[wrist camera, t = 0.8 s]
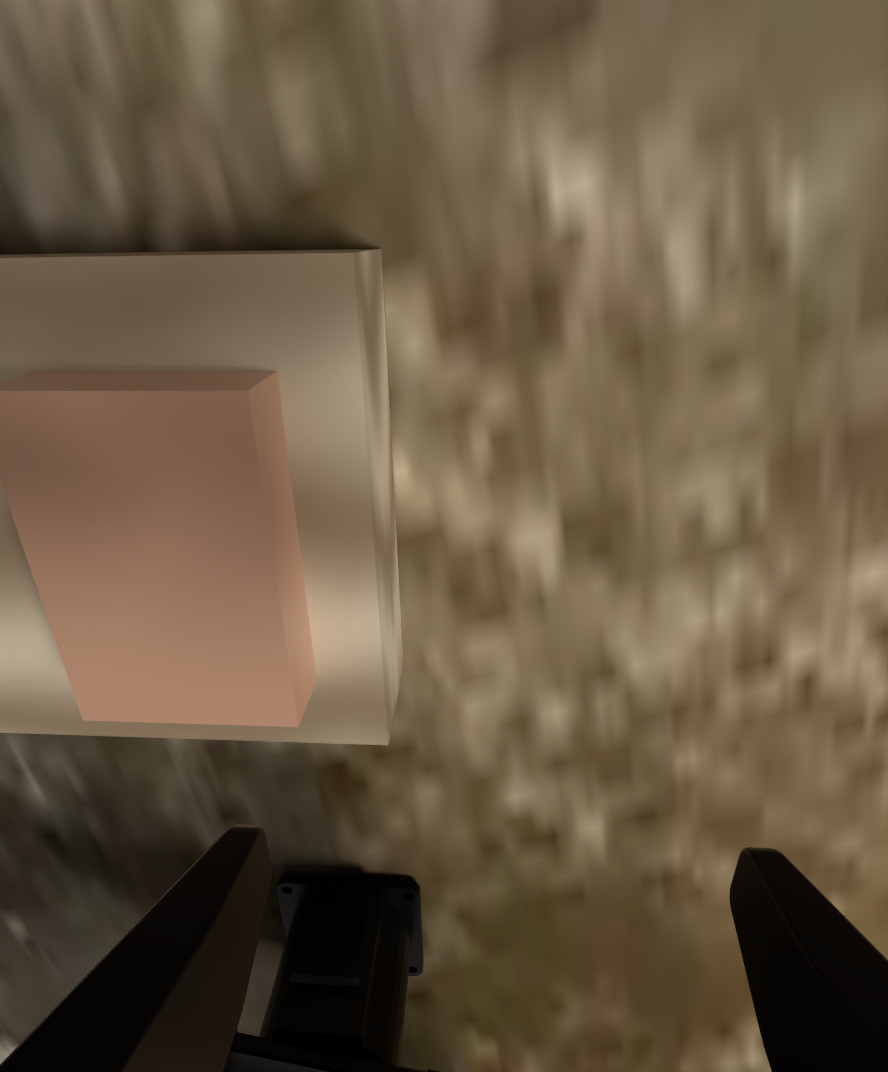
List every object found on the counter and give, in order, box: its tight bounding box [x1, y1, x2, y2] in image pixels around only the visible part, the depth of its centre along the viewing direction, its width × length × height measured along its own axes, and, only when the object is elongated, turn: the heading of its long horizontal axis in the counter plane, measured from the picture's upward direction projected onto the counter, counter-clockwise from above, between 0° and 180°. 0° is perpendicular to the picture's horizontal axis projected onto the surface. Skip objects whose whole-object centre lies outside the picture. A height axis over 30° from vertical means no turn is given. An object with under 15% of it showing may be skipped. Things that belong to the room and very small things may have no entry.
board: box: [0, 249, 403, 745], centre depth 19 cm, size 14×16×4 cm
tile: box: [0, 371, 317, 727], centre depth 16 cm, size 9×6×2 cm, turn 1°
